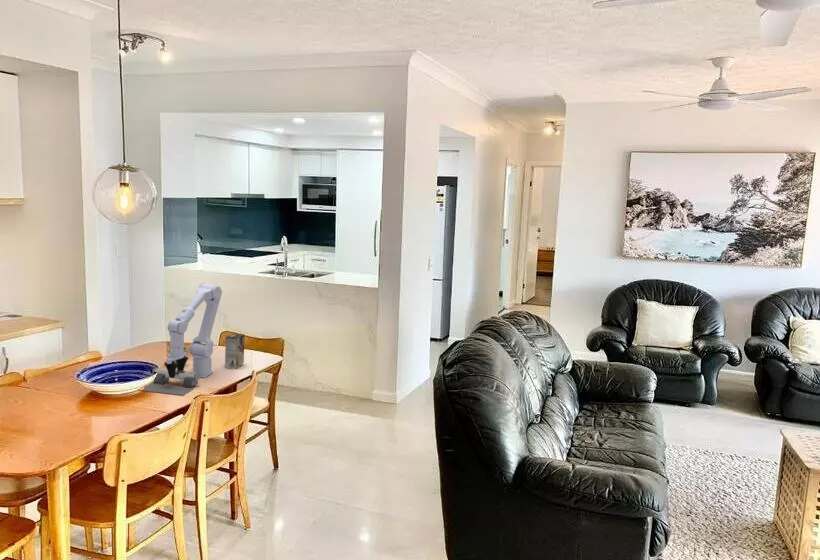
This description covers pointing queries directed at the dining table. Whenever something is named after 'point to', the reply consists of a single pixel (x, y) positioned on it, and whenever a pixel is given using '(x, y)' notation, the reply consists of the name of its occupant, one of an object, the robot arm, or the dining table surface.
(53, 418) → the dining table surface
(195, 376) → the rail
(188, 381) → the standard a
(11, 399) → the dining table surface
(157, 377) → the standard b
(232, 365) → the coffee box
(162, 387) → the mat
